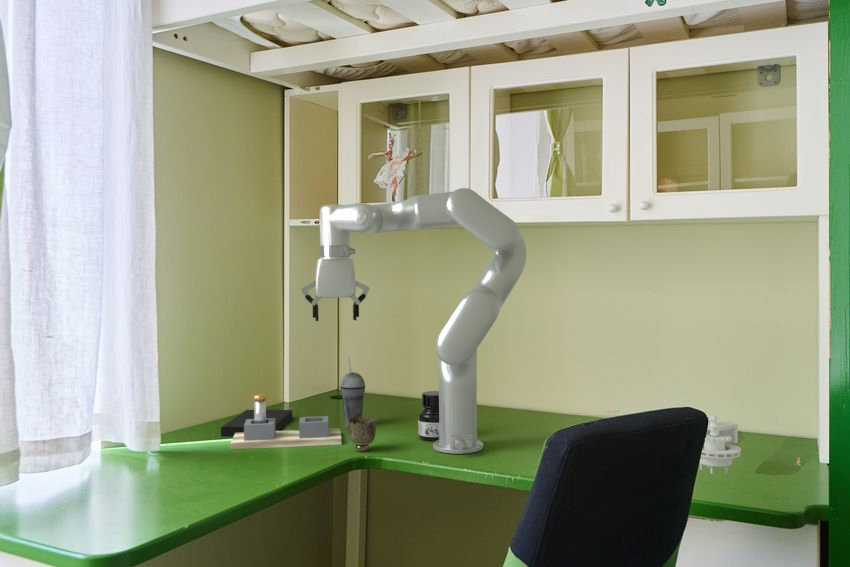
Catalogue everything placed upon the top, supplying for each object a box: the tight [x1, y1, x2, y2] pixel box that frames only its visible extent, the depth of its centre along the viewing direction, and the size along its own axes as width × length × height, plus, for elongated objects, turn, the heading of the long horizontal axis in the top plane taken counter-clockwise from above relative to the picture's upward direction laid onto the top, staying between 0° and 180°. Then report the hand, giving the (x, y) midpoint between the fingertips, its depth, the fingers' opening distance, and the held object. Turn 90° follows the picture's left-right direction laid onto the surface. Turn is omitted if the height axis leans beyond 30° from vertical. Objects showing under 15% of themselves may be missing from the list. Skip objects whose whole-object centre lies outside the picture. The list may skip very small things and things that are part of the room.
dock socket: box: [244, 418, 275, 441], centre depth 201 cm, size 8×8×4 cm
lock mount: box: [298, 415, 329, 438], centre depth 203 cm, size 8×8×4 cm
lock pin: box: [251, 393, 268, 424], centre depth 201 cm, size 4×4×11 cm
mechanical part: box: [699, 415, 742, 475], centre depth 172 cm, size 11×12×12 cm
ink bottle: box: [417, 390, 439, 442], centre depth 205 cm, size 10×9×12 cm
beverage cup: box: [339, 356, 366, 429], centre depth 218 cm, size 7×7×20 cm
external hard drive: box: [220, 409, 293, 438], centre depth 220 cm, size 14×23×3 cm, turn 177°
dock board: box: [229, 428, 342, 450], centre depth 202 cm, size 12×28×2 cm, turn 98°
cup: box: [347, 415, 378, 453], centre depth 192 cm, size 8×7×8 cm
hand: (335, 320), depth 196 cm, fingers open, 9 cm apart
